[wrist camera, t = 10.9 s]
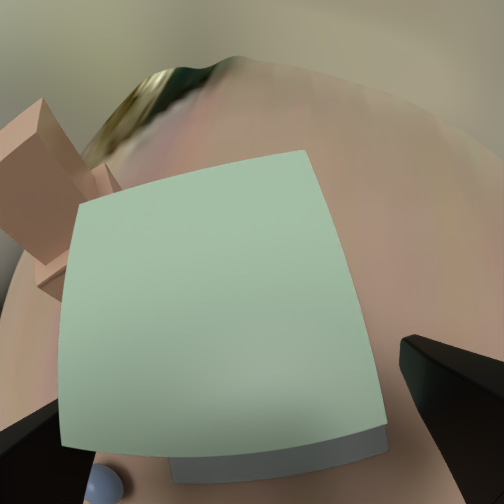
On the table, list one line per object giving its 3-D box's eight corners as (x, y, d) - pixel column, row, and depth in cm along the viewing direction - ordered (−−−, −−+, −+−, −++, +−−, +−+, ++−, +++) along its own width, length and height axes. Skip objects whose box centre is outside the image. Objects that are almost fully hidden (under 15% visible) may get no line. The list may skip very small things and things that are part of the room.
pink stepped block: (159, 268, 20) (53, 128, 9) (82, 315, 19) (-48, 220, 8) (132, 204, 23) (57, 83, 13) (68, 247, 22) (-24, 149, 12)
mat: (386, 449, 12) (389, 450, 12) (176, 481, 13) (173, 483, 12) (341, 262, 18) (342, 258, 18) (158, 297, 19) (155, 294, 19)
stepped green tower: (338, 423, 13) (458, 458, 3) (208, 443, 14) (33, 484, 3) (312, 304, 17) (335, 116, 6) (194, 325, 17) (58, 184, 6)
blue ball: (111, 477, 11) (139, 504, 12) (100, 448, 13) (124, 476, 14) (70, 495, 9) (100, 521, 10) (63, 464, 12) (90, 491, 12)
